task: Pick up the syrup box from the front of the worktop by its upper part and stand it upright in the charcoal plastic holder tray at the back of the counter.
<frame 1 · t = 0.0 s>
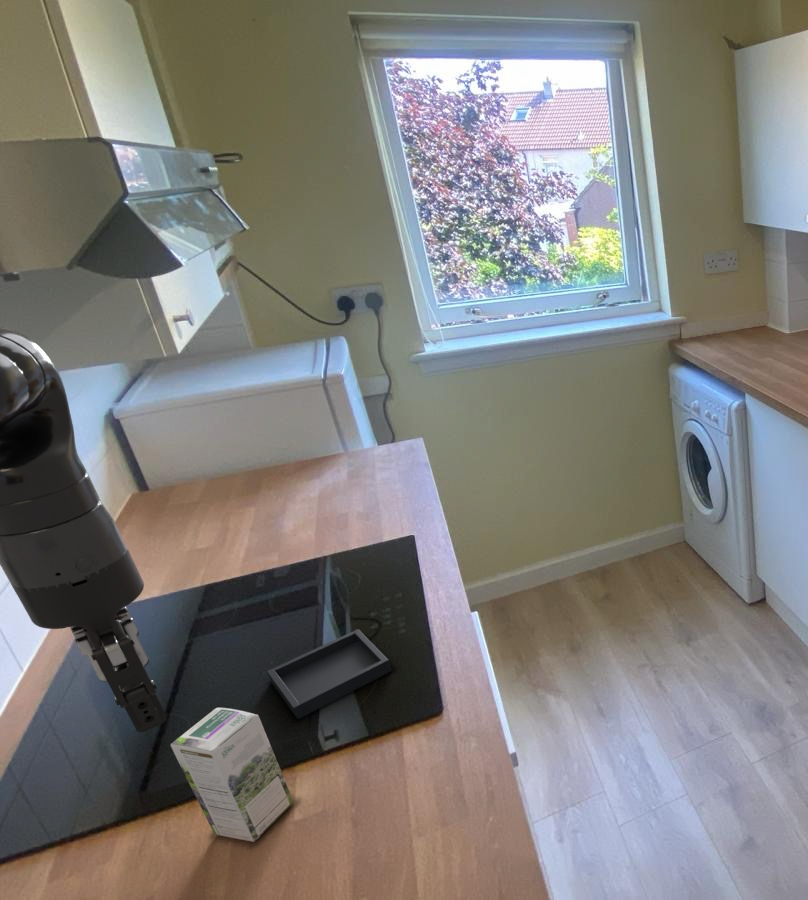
hand: (143, 704, 70), 25 cm above the worktop, tool pointing down, fingers open, 8 cm apart
syrup box: (257, 820, 87), on the worktop
holder: (332, 676, 109), on the worktop
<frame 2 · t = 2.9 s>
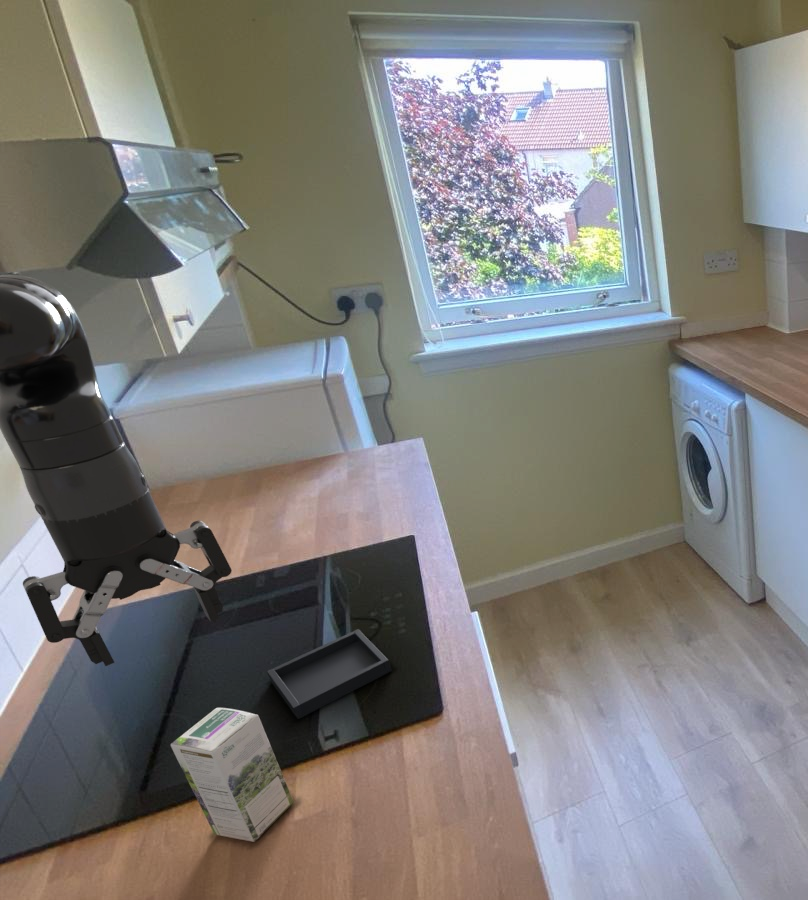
hand: (162, 638, 74), 28 cm above the worktop, tool pointing down, fingers open, 8 cm apart
nothing on the worktop moved.
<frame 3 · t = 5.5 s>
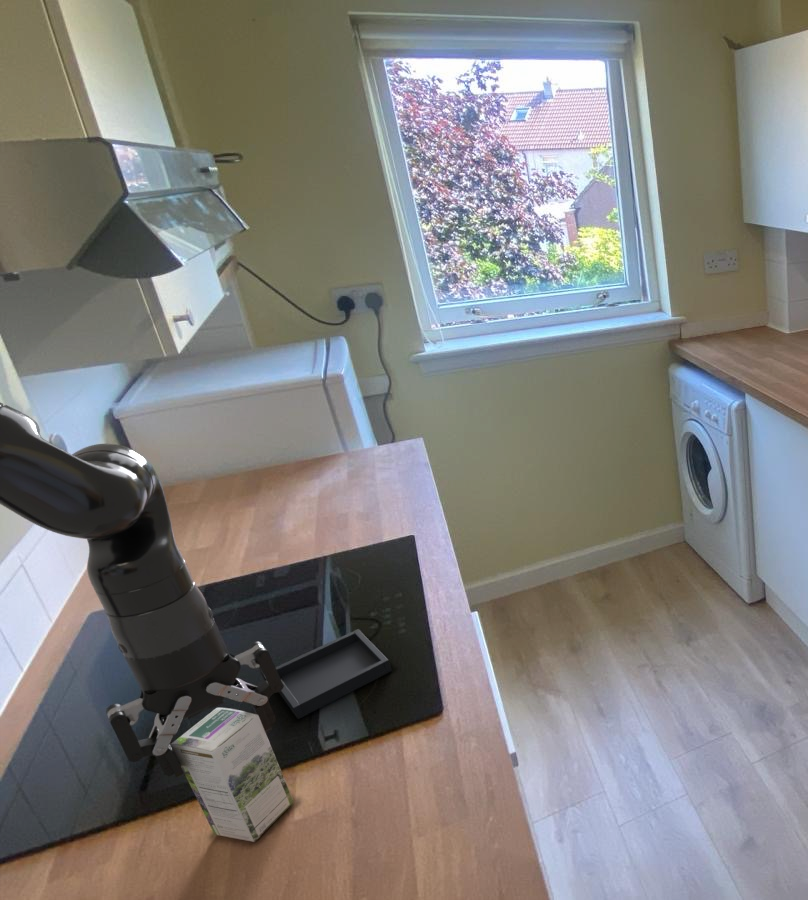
hand: (223, 749, 82), 11 cm above the worktop, tool pointing down, fingers closed on syrup box, 8 cm apart
syrup box: (257, 820, 87), on the worktop, touching gripper
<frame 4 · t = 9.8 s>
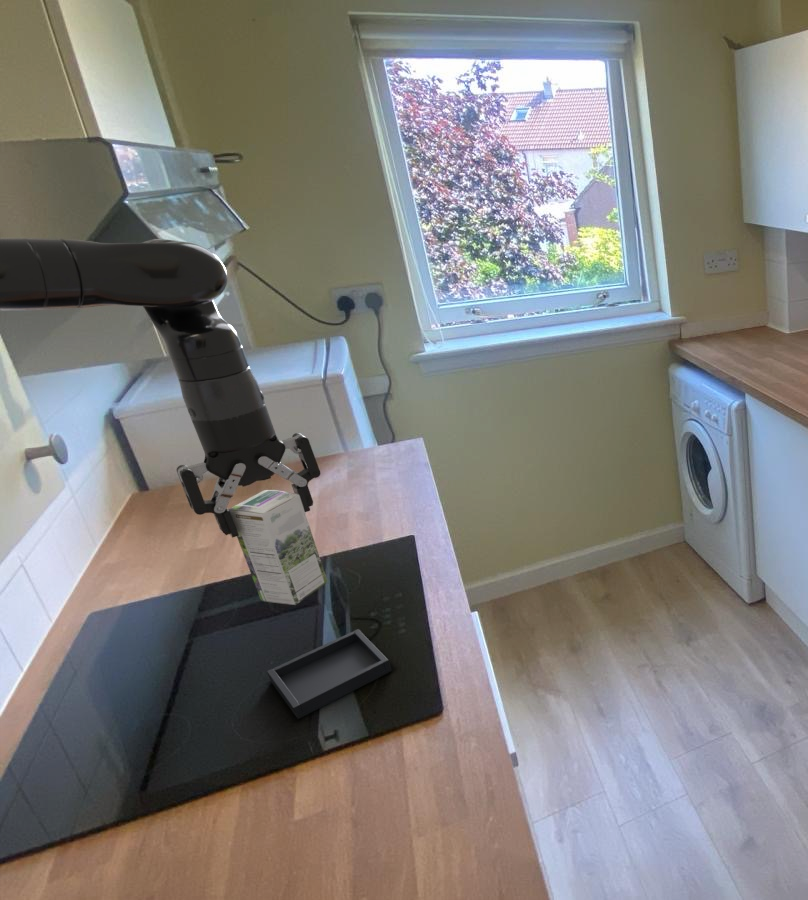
hand: (270, 522, 97), 27 cm above the worktop, tool pointing down, fingers closed on syrup box, 7 cm apart
syrup box: (296, 593, 101), point 16 cm above the worktop, touching gripper
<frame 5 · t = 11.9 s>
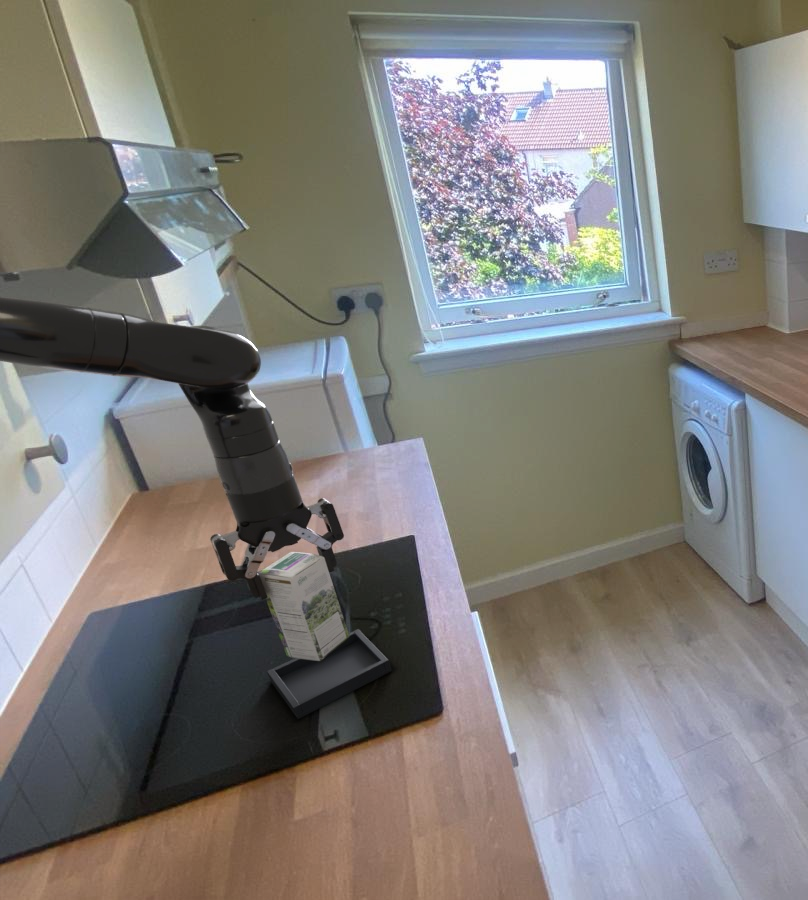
hand: (296, 583, 102), 17 cm above the worktop, tool pointing down, fingers closed on syrup box, 7 cm apart
syrup box: (320, 648, 107), point 5 cm above the worktop, touching gripper
when the fingers open (12 cm above the worktop, at t = 13.9 s): syrup box stays where it is, resting on holder.
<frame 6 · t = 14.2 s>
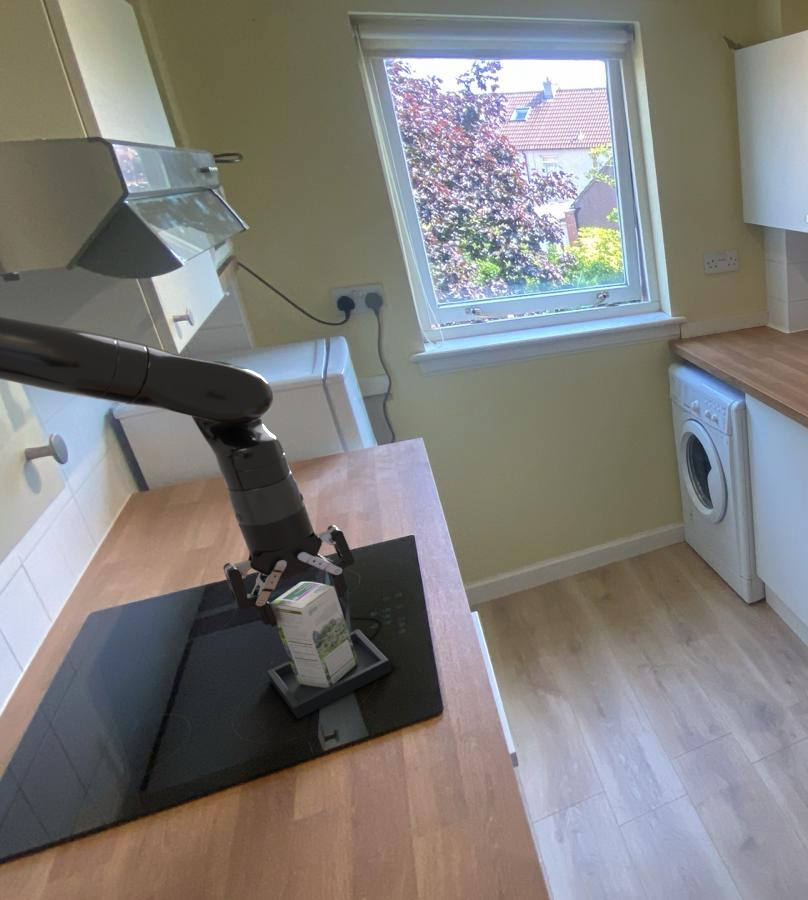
hand: (307, 609, 104), 12 cm above the worktop, tool pointing down, fingers open, 8 cm apart
syrup box: (330, 675, 109), resting on holder
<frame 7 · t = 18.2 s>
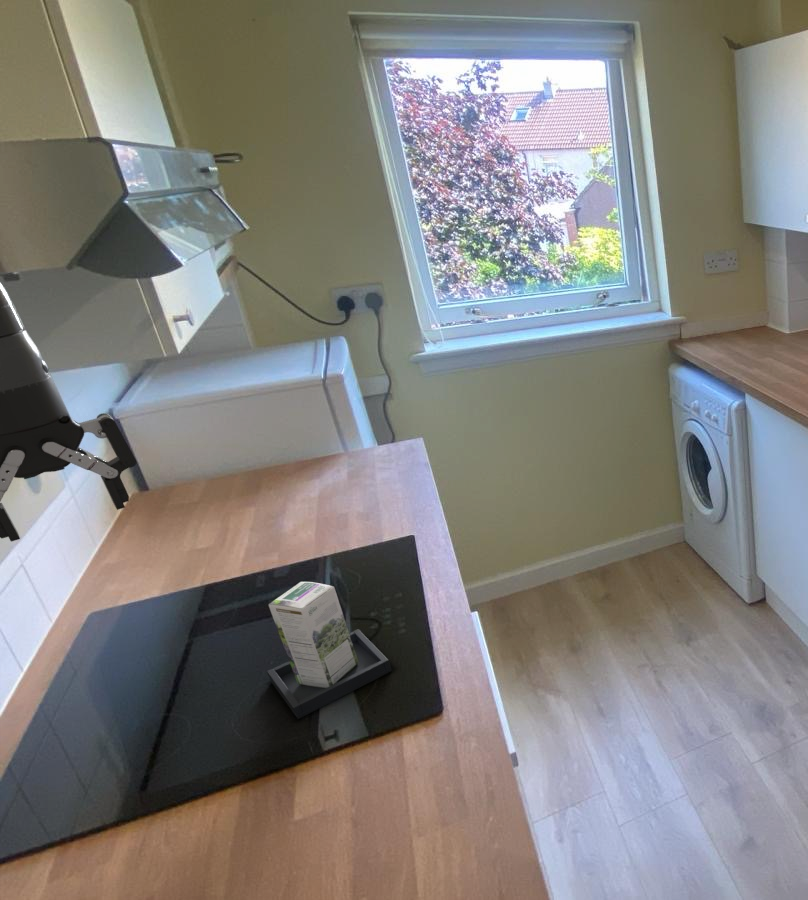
hand: (69, 522, 79), 36 cm above the worktop, tool pointing down, fingers open, 8 cm apart
nothing on the worktop moved.
at the end: syrup box inside the target area in the holder (0.2 cm from its centre), point 0.4 cm above the holder's base; syrup box tilted 0°; the gripper is holding nothing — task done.
